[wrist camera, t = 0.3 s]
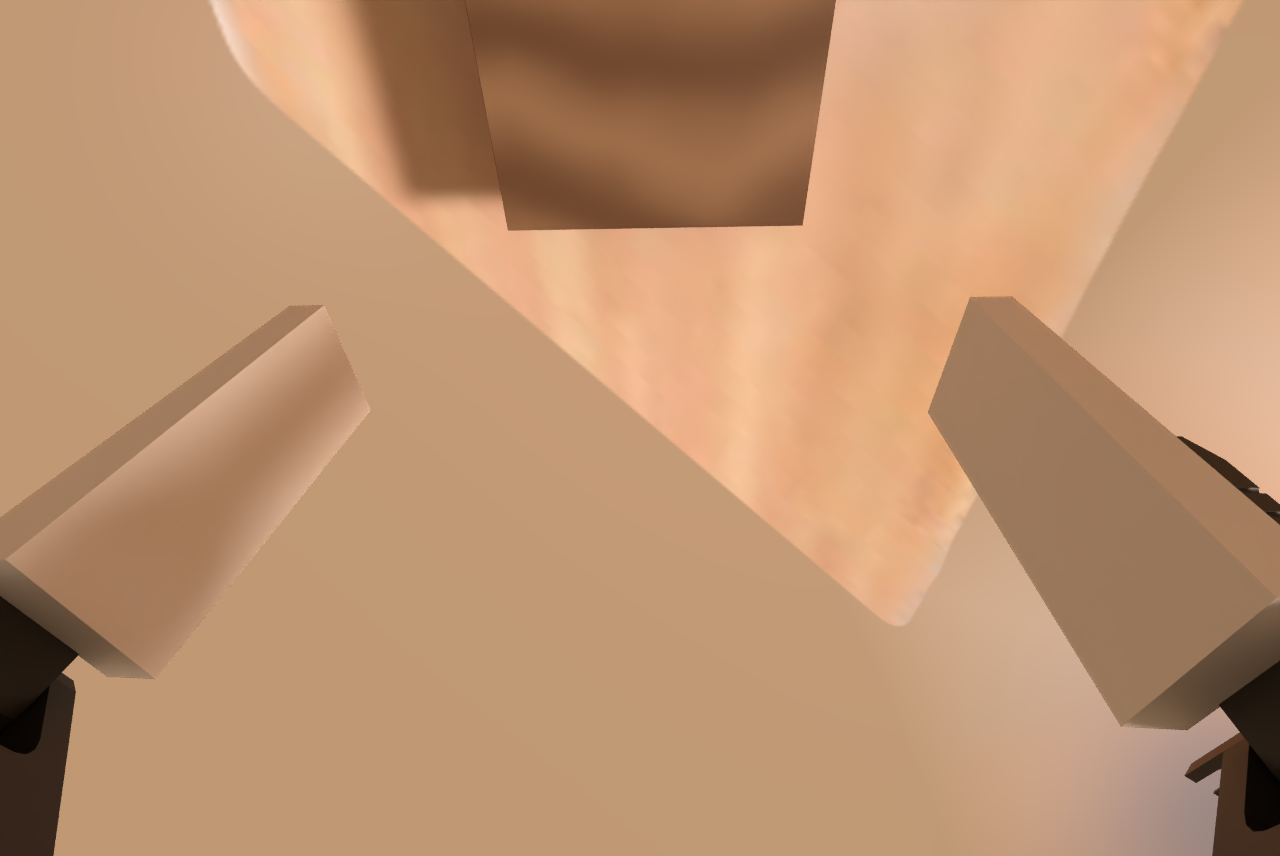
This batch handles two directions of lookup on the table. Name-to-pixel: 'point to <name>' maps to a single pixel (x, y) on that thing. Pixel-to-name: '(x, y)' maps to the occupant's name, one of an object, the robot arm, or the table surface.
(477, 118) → the table surface
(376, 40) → the table surface
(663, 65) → the peg shelf
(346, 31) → the table surface
